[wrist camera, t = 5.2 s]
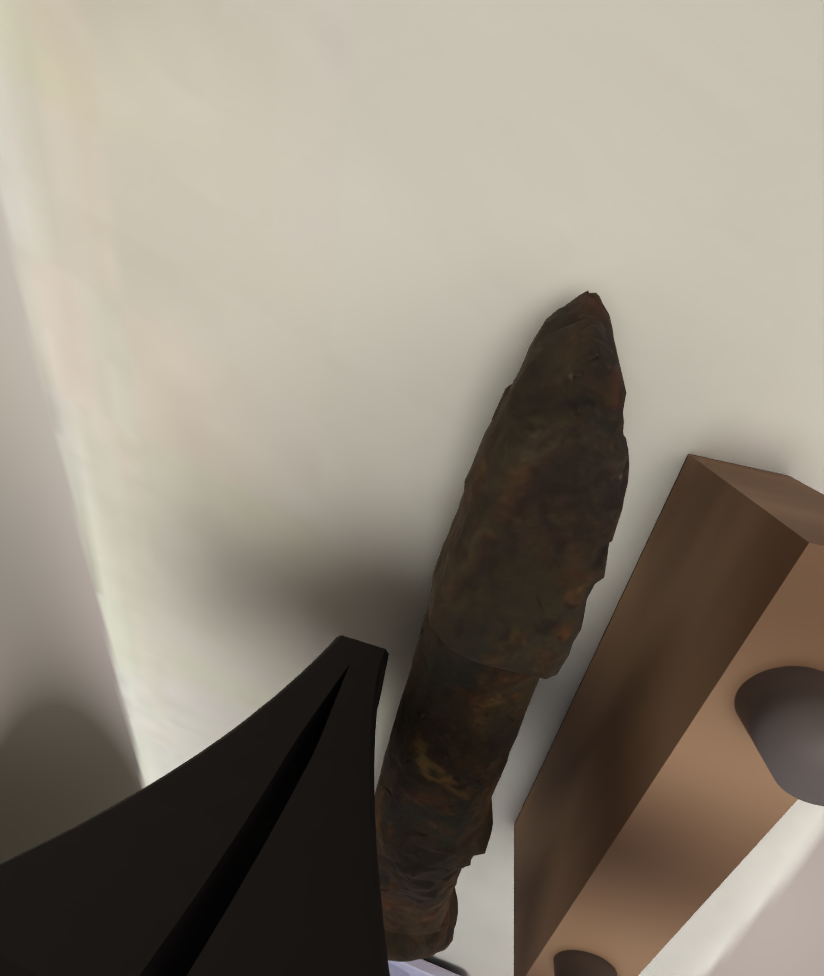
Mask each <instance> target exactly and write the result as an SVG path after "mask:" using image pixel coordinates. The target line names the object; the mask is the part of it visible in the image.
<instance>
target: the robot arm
mask: <svg viewBox="0 0 824 976" xmlns="http://www.w3.org/2000/svg"><path fill="white" fill-rule="evenodd" d="M388 655H389V654H388V652H387V651H386V649H383V648H380V647H377V646H374V645H371V644H367V643H364V642H361V641H358V640H355V639H352V638H348V637H345V636H342V635H341V636H339V637H337V638H336V639H335V640H334V641H333V642H332V643H331V644H330V645H329V646H328V647H327V648H326V649H325V650H324V651H323V652H322V653H321V654H320V655H319V656H318V657H317V658H316V659H315V660H314V661H313V662H312V663H311V664H310V665H309V666H308V667H307V668H306V669H305V670H304V671H303V672H302V673H301V674H300V675H298V676H297V677H296V678H295V679H294V680H293V681H292V682H291V683H289V684H288V685H287V686H286V687H285V688H284V689H283V690H282V691H280V692H279V693H278V694H277V695H276V696H275V697H273V698H272V699H271V700H270V701H268V702H267V703H266V704H265V705H263V706H262V707H261V708H260V709H258V710H257V711H256V712H255V713H254V714H252V715H251V716H250V717H249V718H247V719H246V720H245V721H243V722H242V723H241V724H240V725H238V726H237V727H236V728H234V729H233V730H231V731H230V732H229V733H227V734H226V735H225V736H223V737H222V738H221V739H219V740H218V741H216V742H215V743H213V744H212V745H210V746H209V747H208V748H206V749H205V750H203V751H202V752H200V753H199V754H197V755H196V756H194V757H193V758H191V759H190V760H188V761H187V762H185V763H183V764H182V765H180V766H179V767H177V768H176V769H174V770H173V771H171V772H170V773H168V774H166V775H165V776H163V777H162V778H160V779H158V780H157V781H155V782H153V783H152V784H150V785H148V786H147V787H145V788H143V789H142V790H140V791H138V792H136V793H135V794H133V795H131V796H129V797H127V798H126V799H124V800H122V801H120V802H119V803H117V804H115V805H113V806H112V807H110V808H108V809H107V810H104V811H103V812H101V813H99V814H97V815H95V816H94V817H92V818H90V819H88V820H86V821H84V822H83V823H81V824H79V825H77V826H75V827H73V828H71V829H69V830H67V831H65V832H63V833H61V834H60V835H58V836H55V837H53V838H51V839H49V840H47V841H45V842H43V843H41V844H39V845H37V846H35V847H33V848H31V849H29V850H27V851H25V852H23V853H21V854H19V855H17V856H15V857H13V858H11V859H9V860H7V861H5V862H3V863H1V864H0V976H460V975H458V974H456V973H453V972H451V971H448V970H446V969H444V968H441V967H439V966H437V965H434V964H432V963H430V962H427V961H425V960H423V959H418V960H414V961H410V962H396V961H389V960H388V956H387V948H386V939H385V931H384V923H383V912H382V901H381V890H380V879H379V868H378V857H377V841H376V824H375V796H374V751H375V729H376V715H377V708H378V704H379V700H380V695H381V690H382V685H383V680H384V675H385V670H386V665H387V660H388Z"/></svg>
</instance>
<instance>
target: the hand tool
mask: <svg viewBox="0 0 824 976" xmlns="http://www.w3.org/2000/svg"><path fill="white" fill-rule="evenodd" d="M625 396H626V390H625V385H624V381H623V376H622V372H621V368H620V364H619V359H618V355H617V351H616V346H615V342H614V337H613V329H612V325H611V320H610V316H609V313H608V312H607V310H606V308H605V307H604V305H603V303H602V301H601V299H600V297H599V295H598V294H597V293H589V292H588V291H586V292H585V293H583V294H581V295H579V296H578V297H577V298H575V299H574V300H573V301H571V302H570V303H568V304H567V305H566V306H564V307H562V308H560V309H558V310H557V311H556V312H554V313H553V314H552V315H551V316H550V317H549V318H547V319H546V321H545V322H544V324H543V326H542V327H541V329H540V330H539V332H538V334H537V335H536V337H535V339H534V340H533V342H532V344H531V345H530V347H529V350H528V352H527V355H526V358H525V360H524V362H523V365H522V367H521V369H520V371H519V373H518V375H517V377H516V379H515V380H514V382H513V384H511V385H510V386H509V387H507V388H506V389H505V391H504V393H503V395H502V398H501V400H500V402H499V404H498V407H497V409H496V411H495V413H494V416H493V418H492V422H491V423H490V425H489V427H488V429H487V430H486V432H485V434H484V437H483V439H482V442H481V444H480V446H479V449H478V452H477V454H476V457H475V459H474V462H473V464H472V467H471V469H470V471H469V473H468V475H467V477H466V480H465V486H464V493H463V496H462V499H461V501H460V505H459V509H458V511H457V514H456V516H455V518H454V520H453V522H452V525H451V528H450V531H449V534H448V536H447V539H446V540H445V542H444V544H443V547H442V550H441V553H440V556H439V559H438V562H437V564H436V567H435V570H434V573H433V581H432V595H431V601H430V604H429V607H428V610H427V613H426V616H425V619H424V622H423V626H422V629H421V633H420V637H419V641H418V644H417V648H416V651H415V654H414V658H413V662H412V667H411V671H410V674H409V677H408V680H407V683H406V686H405V689H404V692H403V695H402V698H401V701H400V704H399V707H398V710H397V714H396V717H395V721H394V724H393V728H392V732H391V735H390V740H389V743H388V746H387V749H386V752H385V756H384V761H383V765H382V769H381V774H380V778H379V781H378V784H377V788H376V791H375V795H374V796H375V824H376V841H377V857H378V868H379V879H380V890H381V901H382V912H383V923H384V931H385V939H386V948H387V956H388V960H389V961H396V962H410V961H414V960H418V959H423V958H429V957H430V956H432V955H434V954H435V953H437V952H440V951H443V950H445V949H446V948H447V947H448V946H449V944H450V943H451V942H452V940H453V933H454V928H455V925H456V921H457V914H458V901H457V895H456V891H455V885H456V883H457V878H458V876H459V874H460V871H461V869H462V868H464V867H465V866H469V865H470V863H471V859H472V857H473V856H474V855H479V854H484V853H485V851H486V848H487V845H488V841H489V839H490V835H491V831H492V826H493V815H492V799H491V797H492V795H493V792H494V790H495V787H496V785H497V783H498V781H499V779H500V777H501V774H502V772H503V770H504V767H505V765H506V763H507V760H508V756H509V752H510V750H511V748H512V746H513V743H514V741H515V739H516V737H517V734H518V732H519V729H520V726H521V723H522V720H523V718H524V715H525V712H526V710H527V707H528V705H529V702H530V700H531V697H532V695H533V692H534V690H535V687H536V685H537V682H538V680H539V678H543V679H547V678H549V677H552V676H554V675H556V674H557V673H558V672H559V670H560V668H561V667H562V665H563V663H564V662H565V660H566V658H567V657H568V655H569V653H570V649H571V646H572V643H573V641H574V640H575V638H576V636H577V635H578V633H579V632H580V630H581V626H582V622H583V617H584V612H585V606H586V600H587V597H588V595H589V594H590V592H591V590H592V588H593V586H594V585H595V583H597V582H598V581H600V580H601V579H603V578H604V575H605V568H606V561H607V555H608V546H609V542H611V541H612V539H613V536H614V533H615V530H616V527H617V523H618V520H619V517H620V514H621V511H622V507H623V501H624V496H625V492H626V488H627V484H628V473H629V455H628V447H627V442H626V438H625V436H624V435H623V425H624V419H623V407H624V402H625Z"/></svg>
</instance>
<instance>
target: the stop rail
mask: <svg viewBox="0 0 824 976" xmlns="http://www.w3.org/2000/svg"><path fill="white" fill-rule="evenodd" d="M798 799H799V800H802V801H805V802H808V803H811V804H815V805H820V806H824V495H823V494H821V493H819V492H818V491H816V490H814V489H812V488H810V487H808V486H807V485H805V484H803V483H801V482H799V481H797V480H796V479H794V478H792V477H790V476H786V475H781V474H777V473H772V472H768V471H763V470H759V469H754V468H750V467H745V466H740V465H736V464H731V463H727V462H722V461H718V460H713V459H709V458H704V457H700V456H695V455H691V454H689V455H688V457H687V459H686V461H685V463H684V465H683V468H682V470H681V472H680V474H679V476H678V478H677V480H676V483H675V485H674V487H673V489H672V491H671V493H670V495H669V497H668V500H667V502H666V504H665V506H664V508H663V510H662V512H661V514H660V517H659V519H658V521H657V523H656V525H655V527H654V529H653V531H652V534H651V536H650V538H649V540H648V542H647V544H646V546H645V549H644V551H643V553H642V555H641V557H640V559H639V561H638V563H637V566H636V568H635V570H634V572H633V574H632V576H631V578H630V580H629V583H628V585H627V587H626V589H625V591H624V593H623V595H622V597H621V600H620V602H619V604H618V606H617V608H616V610H615V612H614V615H613V617H612V619H611V621H610V623H609V625H608V627H607V629H606V632H605V634H604V636H603V638H602V640H601V642H600V644H599V646H598V649H597V651H596V653H595V655H594V657H593V659H592V661H591V664H590V666H589V668H588V670H587V672H586V674H585V676H584V678H583V681H582V683H581V685H580V687H579V689H578V691H577V693H576V695H575V698H574V700H573V702H572V704H571V706H570V708H569V710H568V712H567V715H566V717H565V719H564V721H563V723H562V725H561V727H560V730H559V732H558V734H557V736H556V738H555V740H554V742H553V744H552V747H551V749H550V751H549V753H548V755H547V757H546V759H545V761H544V764H543V766H542V768H541V770H540V772H539V774H538V776H537V778H536V781H535V783H534V785H533V787H532V789H531V791H530V793H529V796H528V798H527V800H526V802H525V804H524V806H523V808H522V810H521V813H520V815H519V817H518V819H517V821H516V823H515V825H514V976H638V975H639V974H640V973H641V972H642V970H643V969H644V968H645V967H646V966H647V965H648V964H649V963H650V962H651V961H652V959H653V958H654V957H655V956H656V955H657V954H658V953H659V952H660V951H661V949H662V948H663V947H664V946H665V945H666V944H667V943H668V942H669V941H670V940H671V938H672V937H673V936H674V935H675V934H676V933H677V932H678V931H679V930H680V929H681V927H682V926H683V925H684V924H685V923H686V922H687V921H688V920H689V919H690V918H691V916H692V915H693V914H694V913H695V912H696V911H697V910H698V909H699V908H700V907H701V905H702V904H703V903H704V902H705V901H706V900H707V899H708V898H709V897H710V896H711V894H712V893H713V892H714V891H715V890H716V889H717V888H718V887H719V886H720V885H721V883H722V882H723V881H724V880H725V879H726V878H727V877H728V876H729V875H730V873H731V872H732V871H733V870H734V869H735V868H736V867H737V866H738V865H739V864H740V862H741V861H742V860H743V859H744V858H745V857H746V856H747V855H748V854H749V853H750V851H751V850H752V849H753V848H754V847H755V846H756V845H757V844H758V843H759V842H760V840H761V839H762V838H763V837H764V836H765V835H766V834H767V833H768V832H769V831H770V829H771V828H772V827H773V826H774V825H775V824H776V823H777V822H778V821H779V820H780V818H781V817H782V816H783V815H784V814H785V813H786V812H787V811H788V810H789V808H790V807H791V806H792V805H793V804H794V803H795V802H796V801H797V800H798Z"/></svg>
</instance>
